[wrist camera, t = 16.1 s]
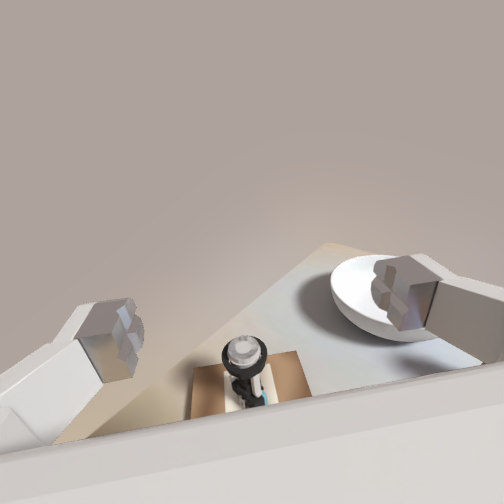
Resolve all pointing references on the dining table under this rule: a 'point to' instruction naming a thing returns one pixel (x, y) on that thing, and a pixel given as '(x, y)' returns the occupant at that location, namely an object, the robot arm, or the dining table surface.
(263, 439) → the robot arm
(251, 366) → the push button
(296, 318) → the dining table surface
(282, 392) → the brown board with label
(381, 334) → the serving bowl
